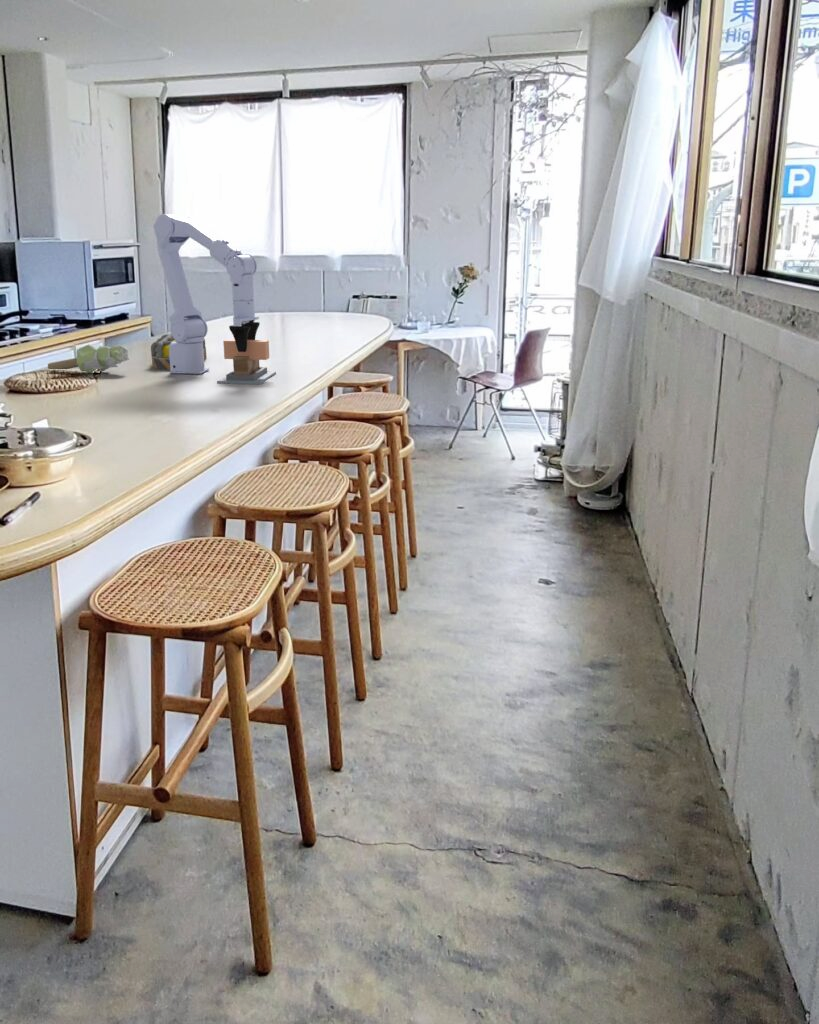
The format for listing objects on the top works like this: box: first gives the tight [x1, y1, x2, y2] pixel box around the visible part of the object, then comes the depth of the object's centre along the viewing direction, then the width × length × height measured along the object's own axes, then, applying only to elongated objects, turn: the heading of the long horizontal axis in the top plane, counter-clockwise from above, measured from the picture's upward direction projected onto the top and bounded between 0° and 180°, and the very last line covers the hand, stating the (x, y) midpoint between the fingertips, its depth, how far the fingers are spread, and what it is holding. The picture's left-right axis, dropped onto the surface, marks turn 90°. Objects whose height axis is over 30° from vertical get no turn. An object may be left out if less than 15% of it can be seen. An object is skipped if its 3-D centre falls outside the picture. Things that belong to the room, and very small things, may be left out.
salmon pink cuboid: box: [223, 338, 270, 361], centre depth 236 cm, size 12×4×5 cm, turn 85°
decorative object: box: [47, 344, 130, 374], centre depth 244 cm, size 9×10×25 cm
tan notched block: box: [232, 356, 261, 375], centre depth 237 cm, size 12×4×6 cm, turn 174°
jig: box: [216, 366, 277, 385], centre depth 238 cm, size 12×18×2 cm, turn 175°
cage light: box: [150, 332, 208, 371], centre depth 264 cm, size 15×8×30 cm
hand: (246, 349), depth 236 cm, fingers open, 7 cm apart
